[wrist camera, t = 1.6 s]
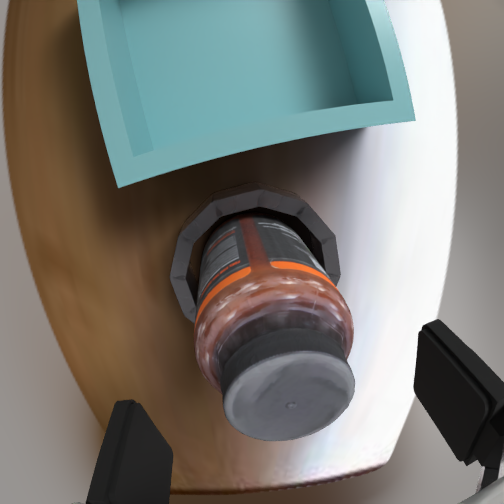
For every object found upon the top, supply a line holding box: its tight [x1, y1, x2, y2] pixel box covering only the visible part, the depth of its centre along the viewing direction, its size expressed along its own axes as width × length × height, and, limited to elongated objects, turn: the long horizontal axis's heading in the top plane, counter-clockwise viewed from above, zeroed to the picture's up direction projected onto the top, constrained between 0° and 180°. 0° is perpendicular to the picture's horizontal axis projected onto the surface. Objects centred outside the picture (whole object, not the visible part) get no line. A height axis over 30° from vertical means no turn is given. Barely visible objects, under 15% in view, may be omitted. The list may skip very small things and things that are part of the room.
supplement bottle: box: [194, 213, 355, 441], centre depth 14 cm, size 6×6×11 cm
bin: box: [77, 0, 416, 188], centre depth 12 cm, size 13×13×5 cm
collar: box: [170, 182, 341, 324], centre depth 18 cm, size 9×9×2 cm
